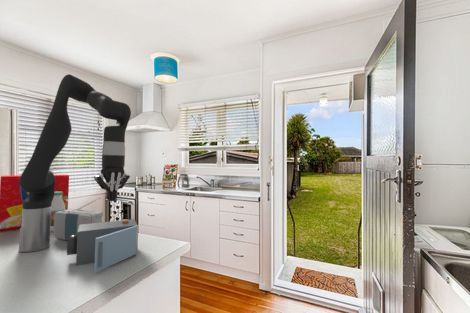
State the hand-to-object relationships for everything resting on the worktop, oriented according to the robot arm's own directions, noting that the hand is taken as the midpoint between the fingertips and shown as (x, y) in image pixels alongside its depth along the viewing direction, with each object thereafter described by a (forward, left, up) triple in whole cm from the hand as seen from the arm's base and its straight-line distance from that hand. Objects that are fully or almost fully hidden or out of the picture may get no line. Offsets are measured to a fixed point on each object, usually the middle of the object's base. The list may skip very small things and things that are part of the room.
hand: (111, 200), depth 83 cm
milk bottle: (-23, +56, -23) cm, 65 cm away
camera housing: (-2, +8, -23) cm, 25 cm away
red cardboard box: (-34, +69, -23) cm, 81 cm away
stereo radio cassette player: (-12, +34, -23) cm, 42 cm away
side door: (+3, -3, -22) cm, 22 cm away
